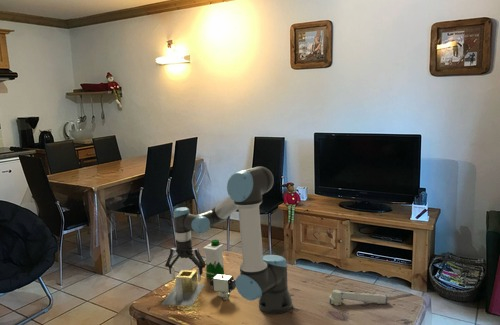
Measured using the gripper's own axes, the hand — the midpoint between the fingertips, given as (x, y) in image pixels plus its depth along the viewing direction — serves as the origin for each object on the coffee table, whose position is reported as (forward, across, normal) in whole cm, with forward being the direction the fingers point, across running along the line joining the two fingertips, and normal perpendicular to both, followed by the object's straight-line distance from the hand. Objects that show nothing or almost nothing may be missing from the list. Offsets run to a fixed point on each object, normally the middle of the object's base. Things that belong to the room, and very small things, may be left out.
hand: (186, 280), depth 199 cm
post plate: (+6, 0, +5) cm, 8 cm away
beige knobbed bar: (+6, -82, +5) cm, 82 cm away
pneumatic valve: (+6, -20, +5) cm, 22 cm away
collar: (+5, 0, 0) cm, 5 cm away
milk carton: (+6, -10, -16) cm, 20 cm away
